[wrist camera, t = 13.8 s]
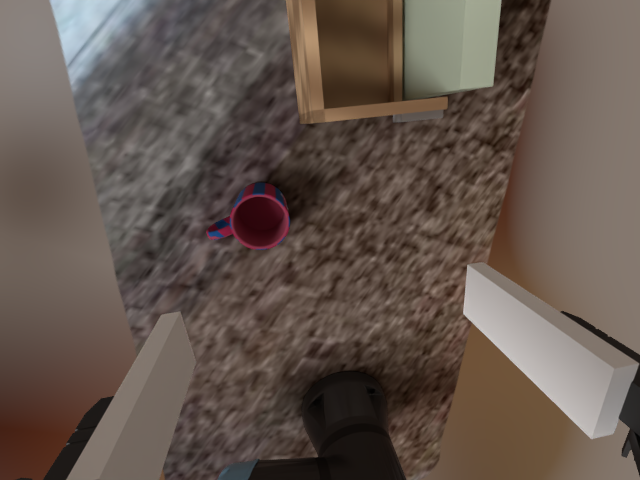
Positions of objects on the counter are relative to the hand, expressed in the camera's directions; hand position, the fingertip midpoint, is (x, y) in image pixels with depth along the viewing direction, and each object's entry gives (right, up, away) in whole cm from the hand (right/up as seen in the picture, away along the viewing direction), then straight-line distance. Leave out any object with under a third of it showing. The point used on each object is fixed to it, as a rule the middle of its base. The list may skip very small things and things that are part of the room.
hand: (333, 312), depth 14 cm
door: (+10, +28, +22) cm, 37 cm away
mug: (-10, +7, +27) cm, 30 cm away
